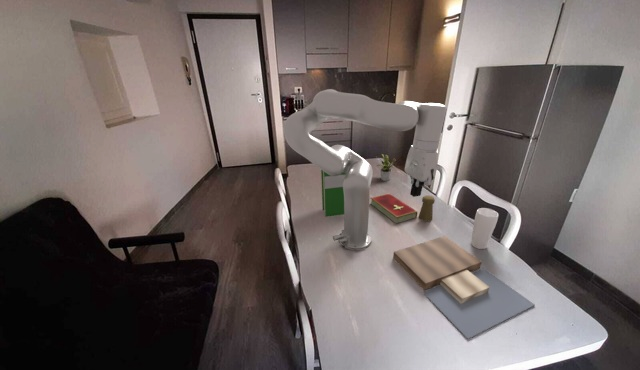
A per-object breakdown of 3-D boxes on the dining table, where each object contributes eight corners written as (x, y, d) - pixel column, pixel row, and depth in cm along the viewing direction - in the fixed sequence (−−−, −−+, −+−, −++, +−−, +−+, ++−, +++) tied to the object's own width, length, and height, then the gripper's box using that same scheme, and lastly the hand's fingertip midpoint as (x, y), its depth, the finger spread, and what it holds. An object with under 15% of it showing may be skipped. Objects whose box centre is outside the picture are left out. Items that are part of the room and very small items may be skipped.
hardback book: (325, 216, 119) (324, 170, 109) (322, 209, 126) (321, 164, 116) (360, 212, 122) (362, 166, 112) (355, 205, 128) (357, 161, 118)
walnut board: (424, 290, 78) (425, 283, 76) (393, 258, 91) (393, 251, 90) (479, 268, 85) (481, 261, 84) (443, 242, 99) (444, 235, 97)
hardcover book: (388, 199, 134) (389, 192, 132) (416, 218, 116) (417, 210, 114) (370, 204, 129) (370, 197, 128) (395, 224, 112) (396, 216, 110)
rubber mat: (467, 339, 63) (467, 338, 63) (422, 292, 77) (423, 291, 77) (534, 305, 71) (534, 304, 71) (483, 268, 85) (483, 267, 85)
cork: (423, 222, 112) (427, 200, 107) (415, 215, 117) (418, 194, 113) (435, 219, 113) (439, 198, 109) (426, 213, 119) (430, 192, 114)
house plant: (368, 176, 163) (369, 152, 156) (387, 173, 166) (389, 149, 159) (379, 184, 150) (381, 159, 143) (399, 181, 154) (402, 156, 147)
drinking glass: (481, 239, 99) (490, 207, 93) (492, 250, 93) (503, 216, 87) (464, 240, 99) (473, 208, 93) (475, 251, 93) (484, 217, 87)
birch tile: (460, 303, 72) (462, 298, 71) (439, 284, 79) (440, 279, 78) (488, 292, 76) (489, 287, 75) (465, 274, 83) (466, 269, 82)
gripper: (401, 139, 84) (393, 187, 92) (432, 152, 71) (420, 207, 79) (419, 137, 86) (410, 185, 94) (453, 150, 73) (439, 203, 81)
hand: (415, 195), depth 86 cm, fingers closed
